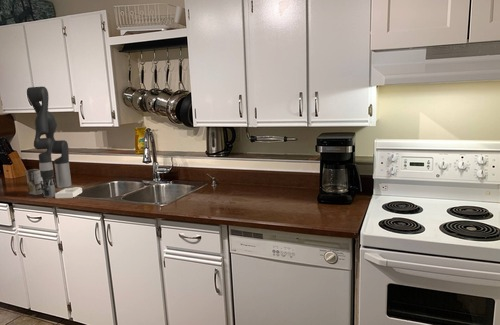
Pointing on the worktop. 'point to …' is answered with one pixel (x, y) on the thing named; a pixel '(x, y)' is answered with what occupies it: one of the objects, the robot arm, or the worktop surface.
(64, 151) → the robot arm
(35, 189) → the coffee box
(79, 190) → the socket plate
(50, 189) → the plug
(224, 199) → the worktop surface
